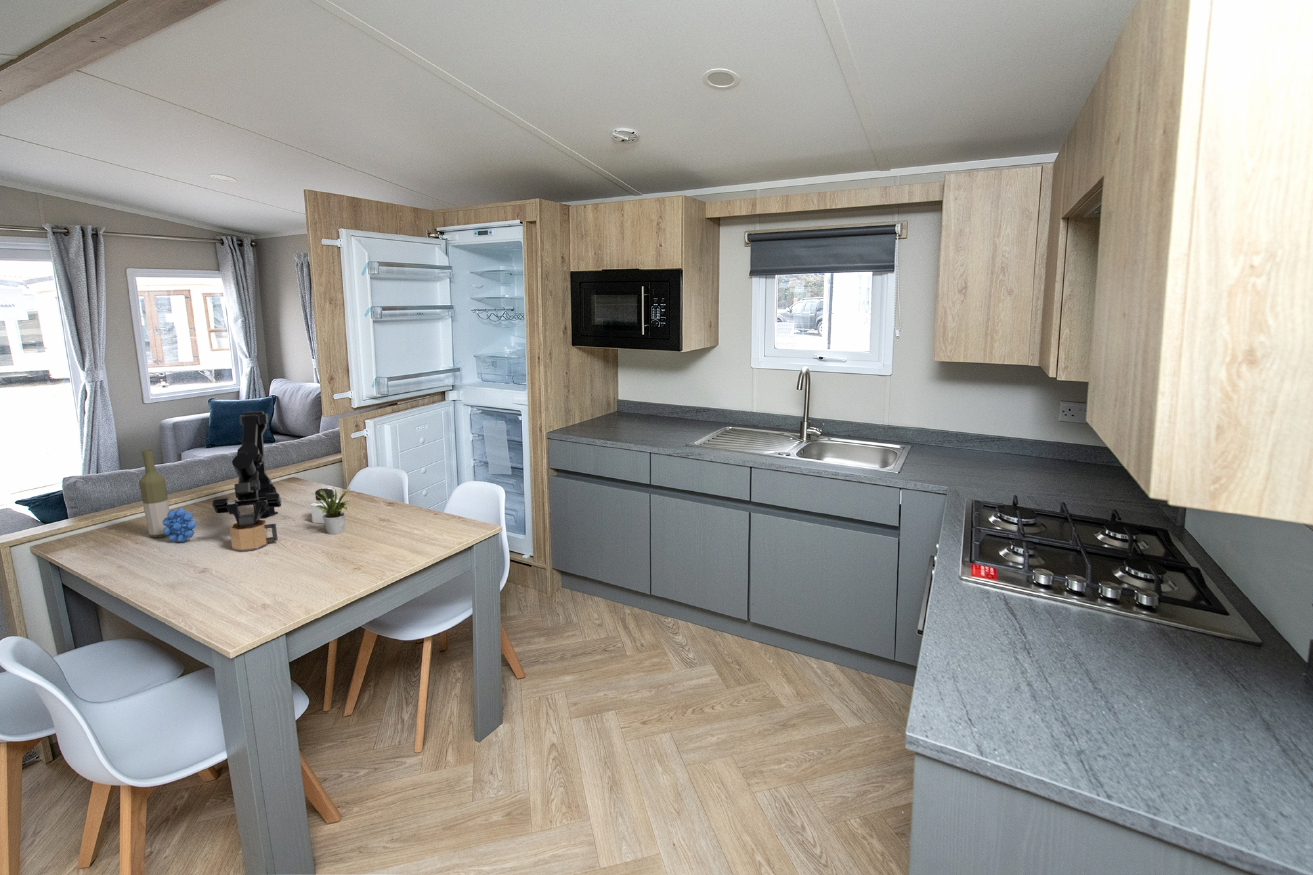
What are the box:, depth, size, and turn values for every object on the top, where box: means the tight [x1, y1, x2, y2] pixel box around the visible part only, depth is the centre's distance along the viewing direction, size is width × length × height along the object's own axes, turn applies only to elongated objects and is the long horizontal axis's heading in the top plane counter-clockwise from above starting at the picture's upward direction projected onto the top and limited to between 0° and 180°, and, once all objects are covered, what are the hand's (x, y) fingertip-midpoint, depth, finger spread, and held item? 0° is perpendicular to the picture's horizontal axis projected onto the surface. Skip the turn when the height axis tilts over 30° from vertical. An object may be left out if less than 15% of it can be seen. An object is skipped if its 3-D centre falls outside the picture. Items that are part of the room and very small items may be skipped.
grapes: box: [162, 507, 197, 544], centre depth 216 cm, size 12×7×12 cm, turn 85°
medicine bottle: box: [310, 487, 342, 525], centre depth 237 cm, size 7×7×12 cm
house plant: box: [311, 487, 351, 535], centre depth 224 cm, size 14×14×16 cm
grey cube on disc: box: [238, 512, 255, 528], centre depth 212 cm, size 7×7×8 cm
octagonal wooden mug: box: [229, 518, 279, 553], centre depth 213 cm, size 10×13×8 cm
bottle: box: [138, 449, 170, 538], centre depth 219 cm, size 7×7×30 cm
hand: (247, 525), depth 210 cm, fingers closed on grey cube on disc, 4 cm apart
